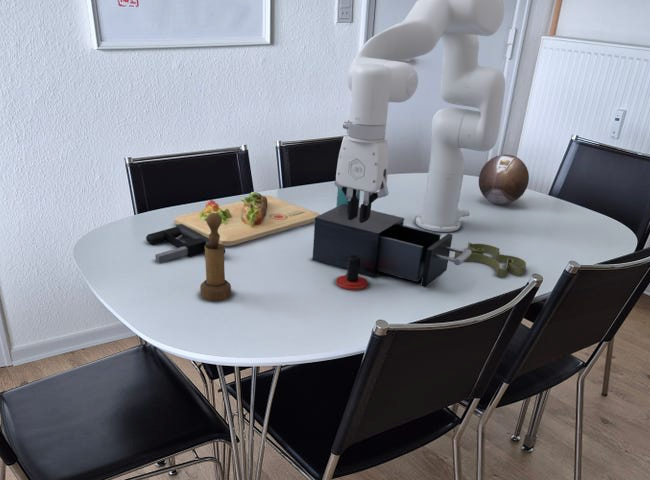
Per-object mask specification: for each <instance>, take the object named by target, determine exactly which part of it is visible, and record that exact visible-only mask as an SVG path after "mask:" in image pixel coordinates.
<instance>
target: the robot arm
mask: <svg viewBox="0 0 650 480" xmlns="http://www.w3.org/2000/svg"><path fill="white" fill-rule="evenodd" d="M504 15H505V4H504V0H416V2H415V3H414V5H413V6H412V7H411V9H410V10H409V11H408V13H407V15H406V16H405V18H404V19H403V20H402V21H400V22H398V23H396V24H393V25H392V26H389V27H388V28H386V29H384V30H382V31H380V32H379V33H376V34H375V35H373V36H372V37H370V38H369V39H368V40H367V41H365V43H364V44H363V45H362V47H360V49H359V51H358V53H356V55H355V57H354V58H353V60H352V62H351V64H350V66H349V69H348V73H347V85H348V89H349V90H350V102H349V103H350V104H349V115H348V120H347V121H344V122H343V124H342V128H343V129H346V135H343V137H342V141H341V145H340V149H339V152H338V157H337V165H336V172H335V173H336V174H335V181H334V185H335V187H337V189H338V188H339V189H341V190H342V191H343V193H344V194H345V196H346V200H347V201H348V210H347V214H348V220H352V219H354V218H356V217H357V216H358V206H359V207H360V216H359V222H360V223H363V222H365V221H367V220H368V219H369V218H370V213H371V210H372V204H373V203H374V202H375V201H376V200H378V199H381V198H385V197H387V196H389V194H390V193H389V188H388V185H387V183H388V175H389V174H388V173H389V146H388V145H389V144H388V140H387V139H386V130H387V121H388V113H389V112H388V111H389V104H390V103H404V102H406V101H408V100H410V99H411V98H412V97H413V96H414V94H415V93H416V91H417V89H418V85H419V75H418V72H417V70H416V68H415V67H414V66H413V65H412V64H410V63H408V62H403V61H405V60H410V59H414V58H419V57H422V56H425V55H427V54H429V53H430V52H432V51H433V50H434V49H435V47H436V46H437V44H438V42H439V41H440V40H441V41H442V47H443V48H442V49H443V50H442V62H441V63H442V64H441V78H440V97H441V99H442V101H444V102H446V103H447V104H451V105H456V106H463V107H470V108H475V109H478V111H477V110H473V109H468V108H462V107H461V108H460V107H453V106H452V107H451V106H449V107H442V108H440V109H439V110H437V111H436V112H435V114H434V115H433V118H432V120H431V127H430V128H431V130H430V131H431V149H430V158H429V166H428V172H427V179H426V186H425V193H424V200H423V206H422V214H419V215H418V216H416V217H415V224H416V225H417V226H418V227H420V228H421V229H423V230H426V231H430V232H437V233H439V232H440V233H449V232H450V233H451V232H455V231H458V230H459V229H460V228H461V221H460V219H461V218H465V217H466V218H467V217H469V216H470V210H469V209H462V210H461V209H460V208H459V202H460V197H461V192H462V186H463V180H464V175H465V169H466V159H465V157H464V154H463V152H462V149H465V150H470V151H477V152H489V151H491V150H492V149H494V147H495V145H496V144H497V141H498V138H499V134H500V128H501V121H502V113H503V107H504V101H505V100H504V99H505V93H506V78H505V75H504V73H503V71H502V70H500V69H498V68H495V67H489V66H481V65H480V64H479V63H478V62H479V61H478V60H479V50H480V41H479V38H478V37H480V36H482V37H489V36H493V35H495V34H496V32H498V30H499V29H500V27H501V26H502V24H503V20H504V17H505V16H504ZM358 190H361V191H360V192H363V201H362V204H360V201H359V199H357V192H358Z"/></svg>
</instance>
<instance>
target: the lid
mask: <svg viewBox="0 0 650 480" xmlns="http://www.w3.org/2000/svg"><path fill="white" fill-rule="evenodd" d="M359 265H360V257H359V256H356V255H351V256H349V258H348V269H347V270H346V272H347V273H346V274H344V275H341V276H338V277H337V278H336V280H335V283H336V285H337V286H338V287H339V288H341V289H343V290H348V291H361V290H364V289H366V288H368V285H369V281H368V280H367V279H366V278H365V277H363V276H360V275H359Z"/></svg>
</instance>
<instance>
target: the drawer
mask: <svg viewBox="0 0 650 480" xmlns="http://www.w3.org/2000/svg"><path fill="white" fill-rule="evenodd" d="M453 237H454V234H451V233H447V234H445V235H444V236H442V234H441V233H439V232H435V231H431V230H427V229H423V228H418V227H414V226H409V225H406V224H403V225H402V224H399V225H397V226H396V227H394V228H392V229H391V230H389V231H387V232H386V233H384V234H382V235H381V236H380V239H379V248H378V256H377V265H376V270H377V271H380V272H381V273H384V274H388V275H391V276H395V277H398V278H402V279H404V280H409V281H412V282H419V281H420V280H421V283H420V287H423V288H427V287H428V286H430V285H431V284H432V283H433V282H434V281H435V280H436V279H438V278H439V277H440V276H441V275H443V274H444V273H445V272H446V271H447V270H448V266H449V265H448V264H449V262H452V263H453V264H454V265H455V266H461V264H463V263H464V262H466V261H465V260H466V259H467V258H468V257H469V256H471V254H472V252H471V250H469V249H468V250H467V249H465V250H463V249H458V248H455V247H452V242H453ZM451 252H453V253H455V252H457V253H461V255H460V256H458V257H457V258H456V259H454V257H450V253H451Z"/></svg>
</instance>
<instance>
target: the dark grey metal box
mask: <svg viewBox="0 0 650 480" xmlns="http://www.w3.org/2000/svg"><path fill="white" fill-rule="evenodd" d="M347 210H348V205H347V204H342V205H340V206H338V207H337V206H335V207H334V208H331V209H330V210H328V211H324V212H323V213H321V214H320V215H319V216H317V217H315V221H314V227H313V228H314V229H313V243H312V244H313V246H312V261H315V262H318V263H322V264H325V265H327V266H328V265H329V266H332V267H335V268H339V269H342V270H346V271H347V269H348V258H349V256H351V255H356V256H359V257H360V265H359V274H360V275H362V276H367V277H370V278H375V277H376V276H379V274H381V273H382V272H380V271H377V270H376V265H377V256H378V248H379V239H380V236H381V235H382V234H384V233H386V232H387V231H389V230H391V229H392V228H394V227H396V226H397V225H399V224H402V225H405V217H401V216H397V215H393V214H389V213H384V212H381V211H376V210H372V209H371V213H370V218H369V219H368V220H367V221H365V222H363V223H360V222H359V216H360V206H359V207H358V216H357V217H356V218H354V219H352V220H348V214H347Z"/></svg>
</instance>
